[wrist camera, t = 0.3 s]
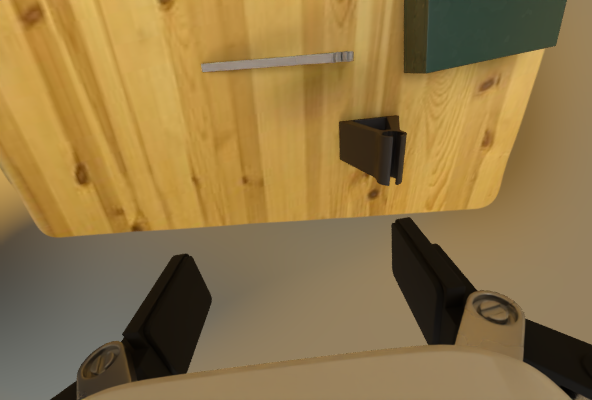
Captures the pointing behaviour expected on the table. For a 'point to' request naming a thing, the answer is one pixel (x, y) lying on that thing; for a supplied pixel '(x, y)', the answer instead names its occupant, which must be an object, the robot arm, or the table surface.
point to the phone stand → (374, 147)
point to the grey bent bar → (280, 61)
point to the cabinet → (475, 30)
